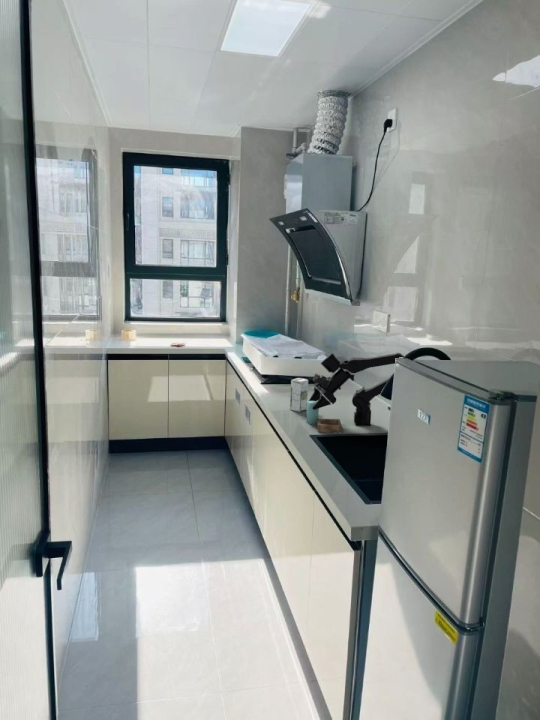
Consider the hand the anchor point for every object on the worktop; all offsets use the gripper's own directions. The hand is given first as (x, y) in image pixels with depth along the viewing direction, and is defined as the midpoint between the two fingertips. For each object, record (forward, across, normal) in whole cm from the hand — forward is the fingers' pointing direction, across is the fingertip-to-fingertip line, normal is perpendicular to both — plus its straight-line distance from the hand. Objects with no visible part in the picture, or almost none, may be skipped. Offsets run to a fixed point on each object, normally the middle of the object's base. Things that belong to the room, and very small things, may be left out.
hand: (310, 406), depth 236 cm
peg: (+4, 0, +6) cm, 7 cm away
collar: (+1, +10, +9) cm, 13 cm away
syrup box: (+6, -21, +5) cm, 22 cm away
